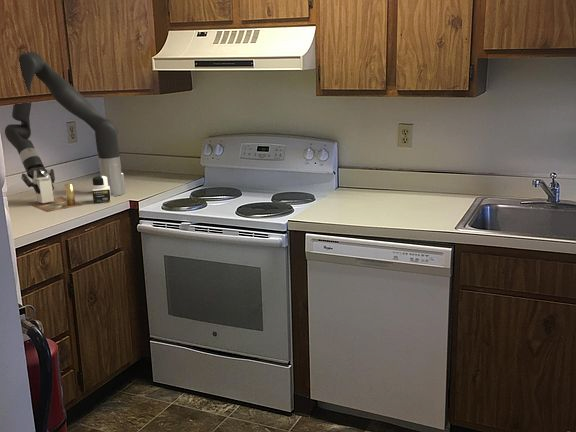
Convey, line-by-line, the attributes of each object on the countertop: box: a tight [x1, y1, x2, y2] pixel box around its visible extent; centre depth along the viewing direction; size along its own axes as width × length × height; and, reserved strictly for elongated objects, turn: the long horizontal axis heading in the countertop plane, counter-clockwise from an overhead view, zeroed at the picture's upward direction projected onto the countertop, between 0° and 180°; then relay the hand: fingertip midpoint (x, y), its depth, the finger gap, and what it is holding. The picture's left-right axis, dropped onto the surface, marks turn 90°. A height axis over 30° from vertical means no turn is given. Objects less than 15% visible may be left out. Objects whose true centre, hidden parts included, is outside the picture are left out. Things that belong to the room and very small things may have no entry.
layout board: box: [25, 196, 85, 213], centre depth 272 cm, size 16×24×6 cm, turn 41°
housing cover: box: [35, 176, 55, 203], centre depth 274 cm, size 5×6×10 cm
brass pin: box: [64, 182, 76, 206], centre depth 268 cm, size 3×3×9 cm
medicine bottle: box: [91, 175, 112, 205], centre depth 273 cm, size 7×7×12 cm
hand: (45, 191), depth 272 cm, fingers closed on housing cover, 5 cm apart
